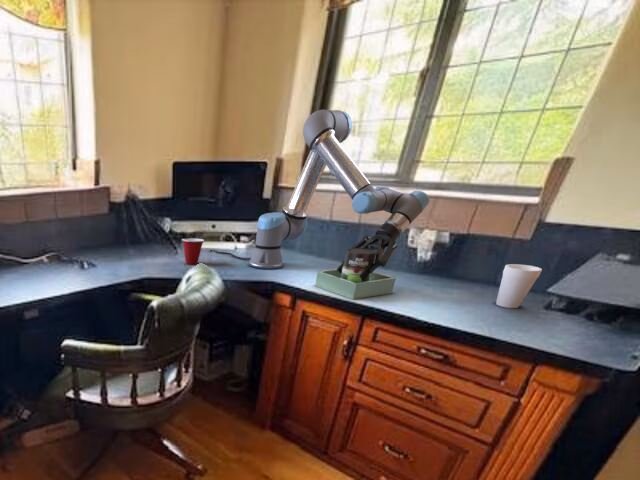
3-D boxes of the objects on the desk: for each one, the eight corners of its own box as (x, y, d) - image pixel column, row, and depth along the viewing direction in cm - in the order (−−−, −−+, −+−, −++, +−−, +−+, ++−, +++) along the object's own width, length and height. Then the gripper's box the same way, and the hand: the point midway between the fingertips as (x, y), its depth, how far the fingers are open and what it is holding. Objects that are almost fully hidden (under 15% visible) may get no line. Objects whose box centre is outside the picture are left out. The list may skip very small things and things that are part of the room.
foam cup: (514, 311, 140) (531, 272, 134) (484, 303, 148) (499, 266, 142) (530, 306, 144) (548, 268, 137) (500, 299, 151) (515, 263, 145)
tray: (314, 285, 172) (317, 271, 169) (351, 280, 177) (354, 266, 174) (352, 299, 155) (356, 283, 152) (391, 293, 161) (396, 278, 158)
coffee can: (366, 292, 160) (376, 254, 153) (337, 289, 164) (345, 252, 157) (367, 285, 168) (376, 249, 161) (339, 282, 172) (347, 247, 165)
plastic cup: (206, 262, 212) (207, 237, 206) (197, 267, 204) (198, 241, 198) (186, 260, 217) (187, 236, 211) (177, 264, 209) (178, 239, 203)
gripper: (422, 240, 152) (377, 288, 155) (370, 231, 171) (332, 273, 174) (416, 226, 148) (370, 275, 151) (363, 218, 167) (324, 262, 170)
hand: (349, 274), depth 162 cm, fingers open, 10 cm apart
